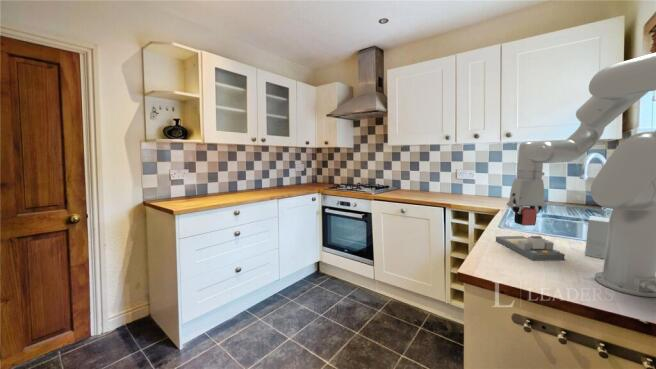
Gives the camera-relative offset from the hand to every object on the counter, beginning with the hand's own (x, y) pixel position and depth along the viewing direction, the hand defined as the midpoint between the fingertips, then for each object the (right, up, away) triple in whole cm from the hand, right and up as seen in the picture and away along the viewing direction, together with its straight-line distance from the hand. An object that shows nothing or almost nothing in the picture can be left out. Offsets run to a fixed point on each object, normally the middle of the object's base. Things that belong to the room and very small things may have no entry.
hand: (524, 222), depth 104 cm
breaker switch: (0, -8, -5) cm, 10 cm away
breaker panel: (0, -10, -1) cm, 10 cm away
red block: (0, 0, 0) cm, 0 cm away
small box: (+21, -11, -6) cm, 25 cm away
